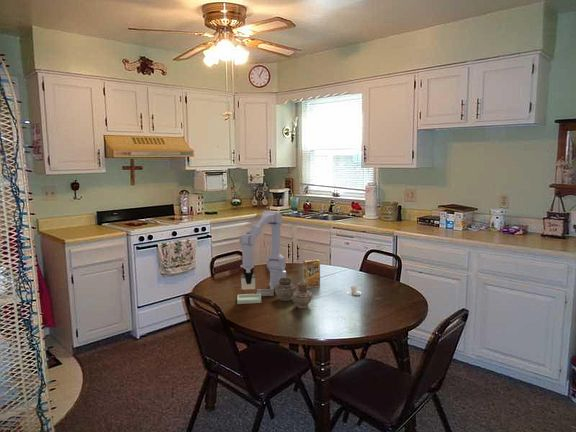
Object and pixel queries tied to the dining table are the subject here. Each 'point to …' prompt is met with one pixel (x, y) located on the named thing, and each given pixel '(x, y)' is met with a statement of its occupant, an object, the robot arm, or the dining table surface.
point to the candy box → (311, 272)
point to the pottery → (293, 292)
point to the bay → (266, 291)
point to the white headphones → (354, 291)
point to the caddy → (244, 284)
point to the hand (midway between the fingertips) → (248, 282)
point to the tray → (248, 298)
